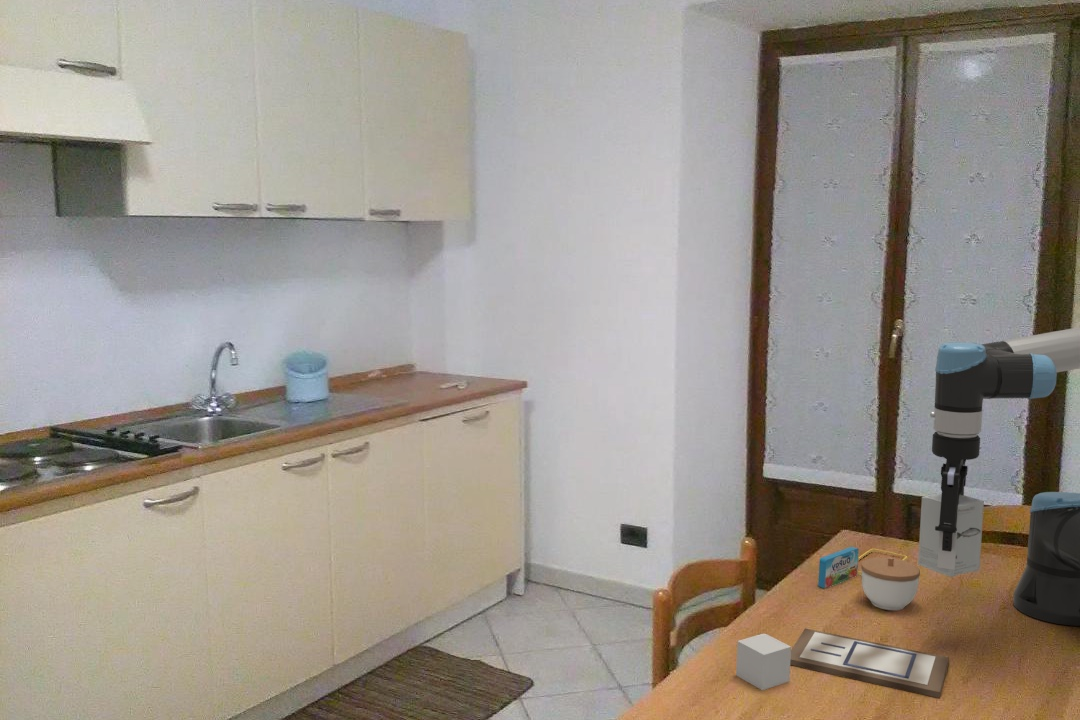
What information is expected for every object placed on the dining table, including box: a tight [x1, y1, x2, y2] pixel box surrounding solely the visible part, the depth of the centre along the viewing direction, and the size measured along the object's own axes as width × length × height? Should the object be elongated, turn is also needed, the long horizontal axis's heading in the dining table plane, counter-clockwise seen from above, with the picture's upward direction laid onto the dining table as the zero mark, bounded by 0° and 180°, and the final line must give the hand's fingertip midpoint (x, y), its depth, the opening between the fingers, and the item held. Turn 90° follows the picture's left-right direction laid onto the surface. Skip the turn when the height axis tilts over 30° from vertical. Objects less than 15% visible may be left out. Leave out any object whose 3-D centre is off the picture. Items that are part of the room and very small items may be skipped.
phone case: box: [857, 548, 908, 576], centre depth 210 cm, size 8×17×1 cm, turn 141°
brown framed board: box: [790, 627, 950, 699], centre depth 162 cm, size 24×14×1 cm, turn 62°
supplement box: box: [917, 492, 985, 578], centre depth 168 cm, size 7×7×13 cm
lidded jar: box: [860, 556, 921, 611], centre depth 188 cm, size 11×11×9 cm
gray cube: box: [735, 632, 792, 691], centre depth 156 cm, size 6×6×6 cm
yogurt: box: [817, 546, 860, 589], centre depth 200 cm, size 12×2×6 cm, turn 130°
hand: (949, 558), depth 169 cm, fingers closed on supplement box, 10 cm apart
